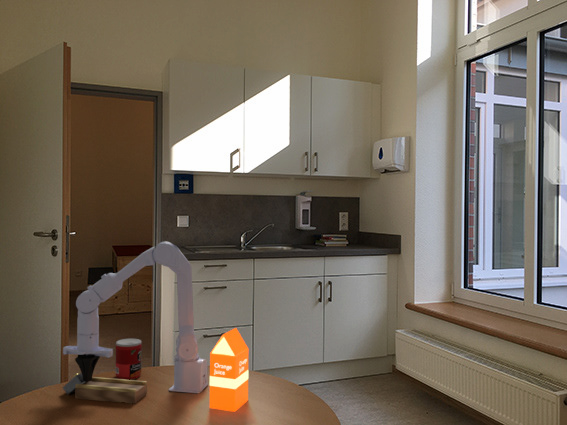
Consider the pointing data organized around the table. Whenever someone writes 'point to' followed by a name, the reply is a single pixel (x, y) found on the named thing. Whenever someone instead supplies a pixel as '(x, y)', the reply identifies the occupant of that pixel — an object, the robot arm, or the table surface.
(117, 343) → the canned food
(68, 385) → the grey block with knob
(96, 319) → the robot arm
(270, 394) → the table surface
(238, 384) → the orange juice
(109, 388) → the wooden channel tray
